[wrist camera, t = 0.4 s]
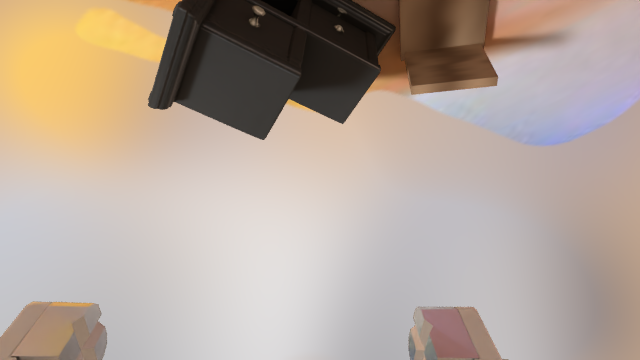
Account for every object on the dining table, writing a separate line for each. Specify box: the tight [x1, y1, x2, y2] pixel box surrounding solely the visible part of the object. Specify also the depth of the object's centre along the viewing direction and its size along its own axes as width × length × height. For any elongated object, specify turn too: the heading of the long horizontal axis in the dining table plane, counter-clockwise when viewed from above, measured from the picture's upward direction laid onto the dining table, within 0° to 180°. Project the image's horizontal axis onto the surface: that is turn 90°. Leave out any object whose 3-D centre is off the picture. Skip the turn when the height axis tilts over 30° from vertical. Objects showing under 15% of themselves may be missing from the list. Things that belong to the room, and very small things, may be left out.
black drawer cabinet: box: [148, 0, 396, 140], centre depth 46 cm, size 23×11×24 cm, turn 62°
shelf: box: [399, 0, 498, 95], centre depth 47 cm, size 11×17×10 cm, turn 9°
